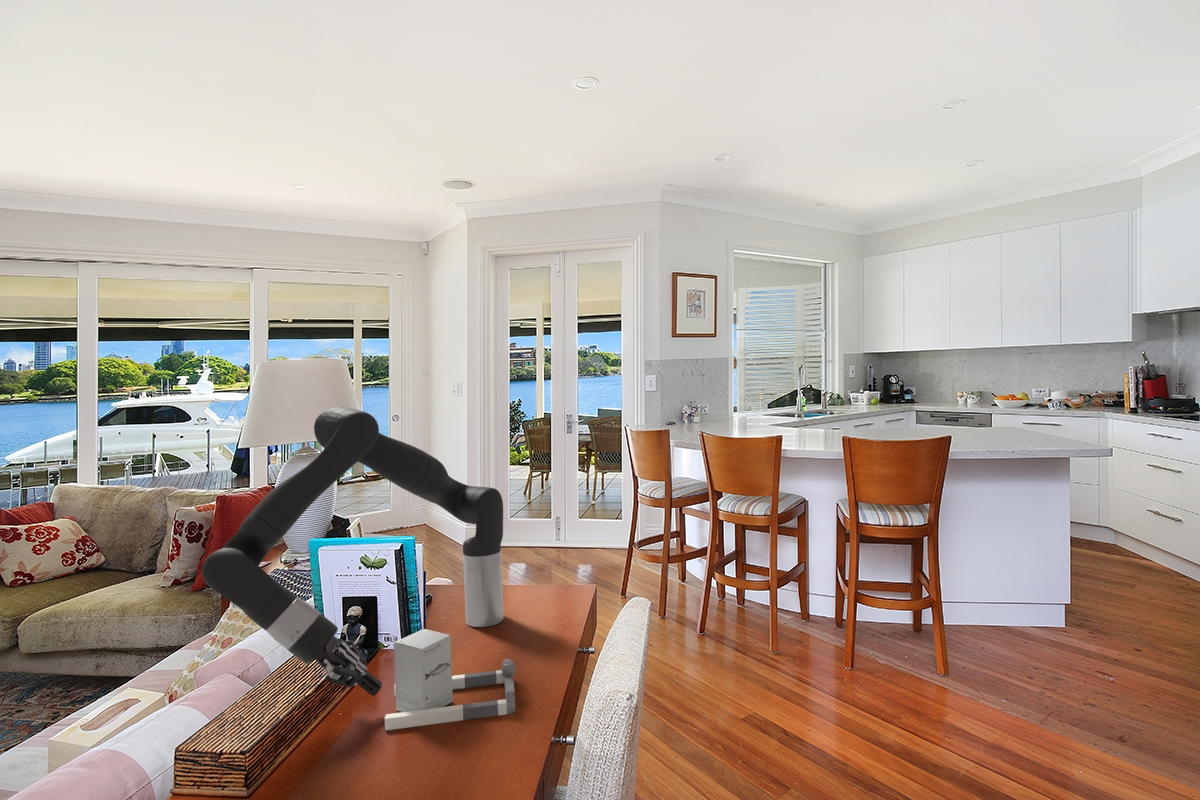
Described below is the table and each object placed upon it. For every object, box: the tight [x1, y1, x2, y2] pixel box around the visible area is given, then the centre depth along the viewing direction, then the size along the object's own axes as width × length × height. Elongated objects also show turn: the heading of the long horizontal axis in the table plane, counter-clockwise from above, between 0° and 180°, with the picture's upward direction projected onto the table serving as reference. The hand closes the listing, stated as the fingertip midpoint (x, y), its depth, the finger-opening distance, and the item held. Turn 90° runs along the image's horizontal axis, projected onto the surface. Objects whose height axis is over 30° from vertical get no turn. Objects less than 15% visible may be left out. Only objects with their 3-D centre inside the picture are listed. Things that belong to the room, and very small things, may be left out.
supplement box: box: [393, 628, 454, 713], centre depth 115 cm, size 7×7×13 cm
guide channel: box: [384, 658, 516, 731], centre depth 116 cm, size 14×22×6 cm, turn 101°
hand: (378, 690), depth 113 cm, fingers closed
